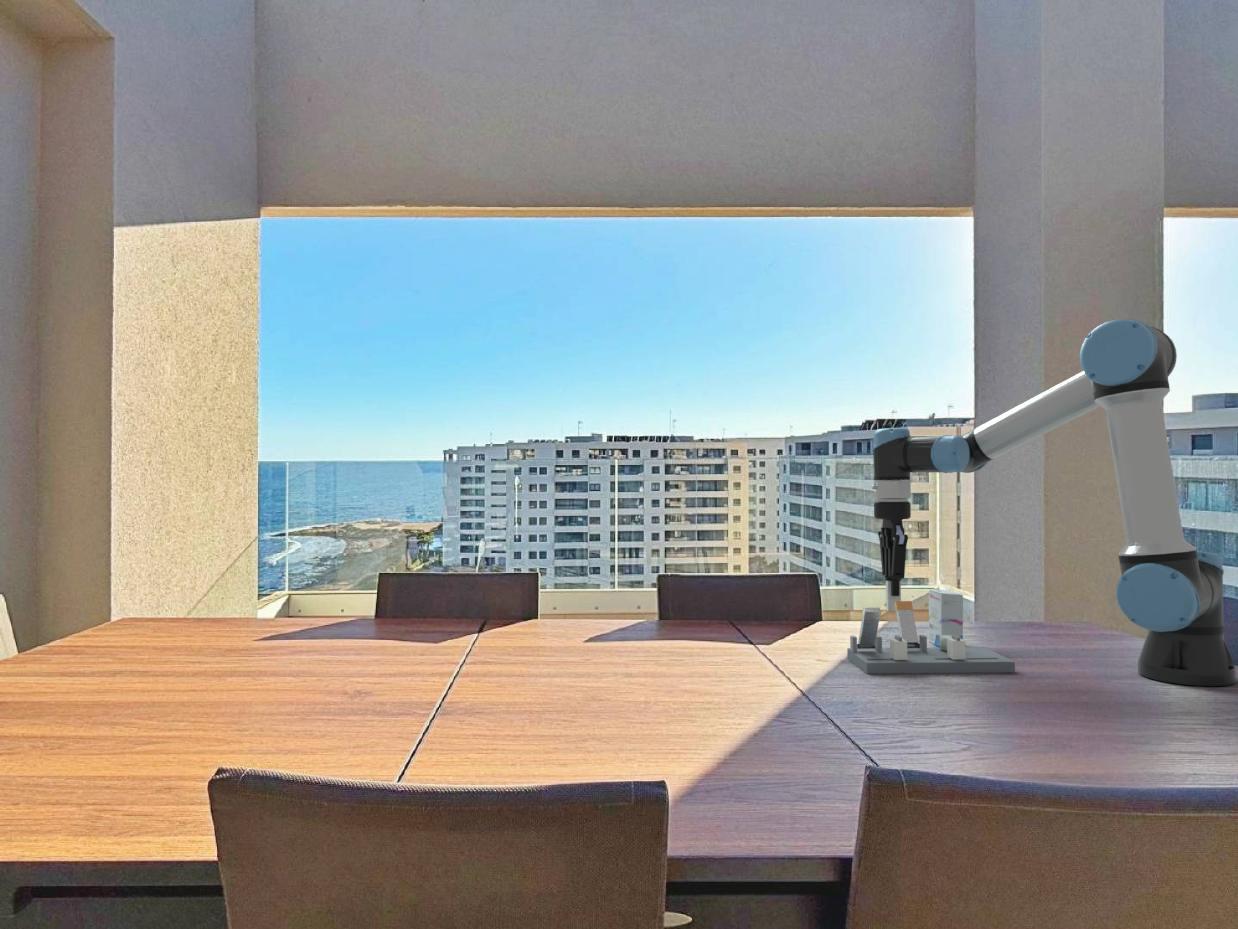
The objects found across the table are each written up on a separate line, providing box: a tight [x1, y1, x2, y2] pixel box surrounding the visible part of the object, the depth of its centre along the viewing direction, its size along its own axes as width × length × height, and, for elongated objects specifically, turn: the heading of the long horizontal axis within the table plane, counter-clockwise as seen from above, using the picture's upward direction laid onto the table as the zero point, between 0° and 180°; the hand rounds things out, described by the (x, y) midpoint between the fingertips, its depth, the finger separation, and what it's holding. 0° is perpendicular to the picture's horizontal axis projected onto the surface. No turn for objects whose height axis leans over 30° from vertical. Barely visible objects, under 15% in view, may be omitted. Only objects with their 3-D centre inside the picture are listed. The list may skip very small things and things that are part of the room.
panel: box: [846, 634, 1016, 675], centre depth 172 cm, size 28×14×5 cm, turn 90°
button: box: [939, 635, 961, 651], centre depth 176 cm, size 4×4×2 cm
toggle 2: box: [894, 600, 920, 648], centre depth 178 cm, size 3×1×10 cm, turn 90°
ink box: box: [928, 588, 964, 648], centre depth 192 cm, size 9×5×12 cm, turn 179°
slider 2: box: [947, 635, 966, 660], centre depth 168 cm, size 2×3×4 cm
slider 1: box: [889, 635, 907, 660], centre depth 168 cm, size 2×3×4 cm
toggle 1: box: [857, 607, 882, 649], centre depth 174 cm, size 3×1×10 cm, turn 90°
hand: (893, 610), depth 187 cm, fingers closed
